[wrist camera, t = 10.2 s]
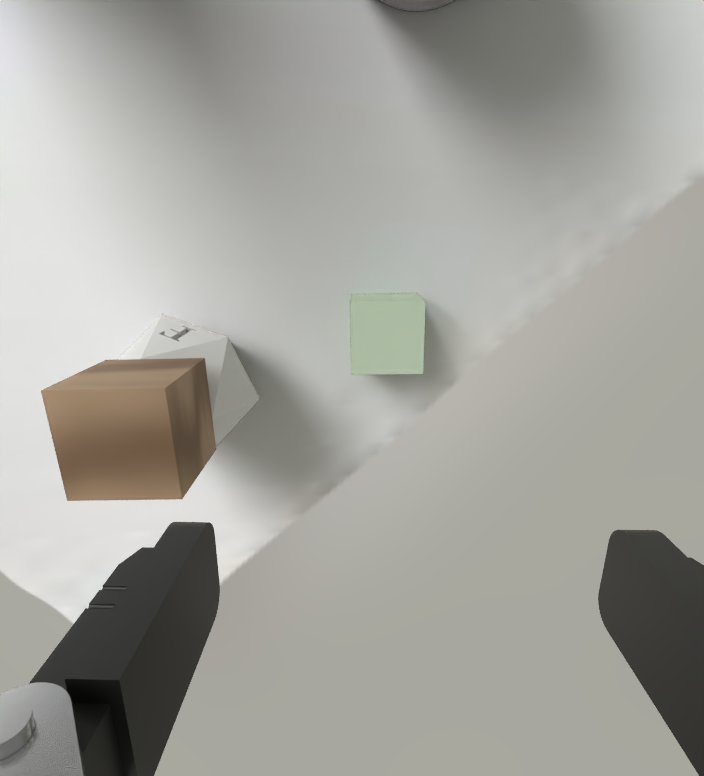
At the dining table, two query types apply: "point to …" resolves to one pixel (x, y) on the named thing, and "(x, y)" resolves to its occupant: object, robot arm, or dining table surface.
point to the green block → (387, 333)
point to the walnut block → (132, 428)
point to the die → (222, 365)
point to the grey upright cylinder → (416, 4)
